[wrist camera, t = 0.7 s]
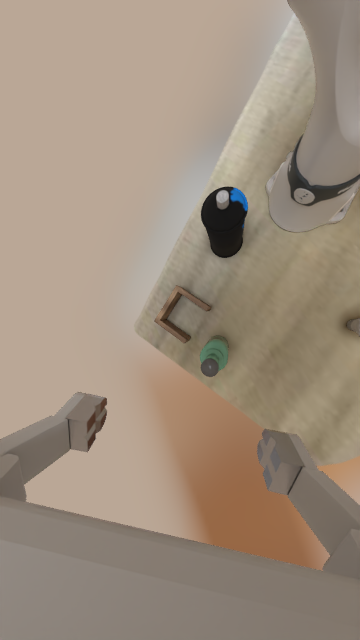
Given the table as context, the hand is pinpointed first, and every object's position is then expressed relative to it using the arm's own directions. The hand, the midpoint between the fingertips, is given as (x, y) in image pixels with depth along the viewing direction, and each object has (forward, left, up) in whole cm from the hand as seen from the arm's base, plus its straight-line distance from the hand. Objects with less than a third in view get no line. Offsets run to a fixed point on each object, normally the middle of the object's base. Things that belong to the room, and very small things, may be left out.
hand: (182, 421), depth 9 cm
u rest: (+2, -11, -42) cm, 43 cm away
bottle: (+4, +1, -42) cm, 42 cm away
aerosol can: (-20, -13, -42) cm, 48 cm away
